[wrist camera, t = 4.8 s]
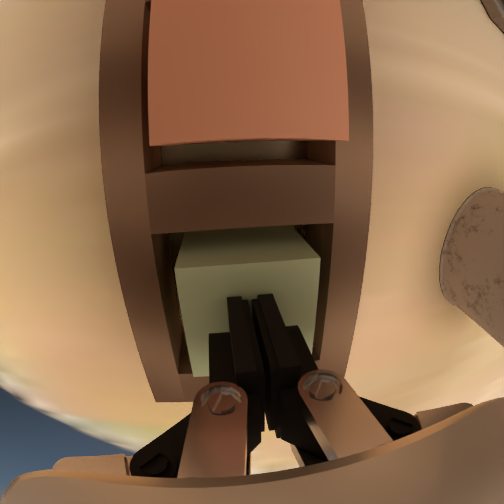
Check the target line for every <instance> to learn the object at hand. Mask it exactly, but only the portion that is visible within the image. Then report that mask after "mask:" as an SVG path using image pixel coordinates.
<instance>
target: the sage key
mask: <svg viewBox="0 0 504 504" xmlns="http://www.w3.org/2000/svg"><path fill="white" fill-rule="evenodd" d="M320 260H321V258H320V257H319V255H318V254H317V253H316V252H315V251H314V250H313V249H312V248H311V247H310V245H309V244H308V243H307V242H306V241H305V240H304V239H303V238H302V237H301V236H300V234H299V233H298V232H297V231H296V230H295V229H294V228H293V227H292V226H291V225H282V226H264V227H247V228H231V229H216V230H202V231H188V232H185V234H184V237H183V241H182V244H181V247H180V251H179V254H178V257H177V261H176V264H175V268H174V270H175V277H176V284H177V290H178V297H179V303H180V309H181V315H182V321H183V326H184V332H185V337H186V343H187V348H188V353H189V358H190V363H191V368H192V372H193V377H203V376H209V333H222V332H229V320H228V307H227V297H236V296H242V300H247V299H248V303H249V307H250V311H251V315H252V299H257V295H260V294H271V293H272V294H273V296H274V298H275V301H276V303H277V306H278V308H279V311H280V313H281V316H282V318H283V321H284V323H285V326H293V325H298V326H299V328H300V330H301V332H302V335H303V337H304V339H305V341H306V343H307V345H308V348H309V350H310V352H311V354H312V348H313V339H314V330H315V320H316V310H317V299H318V287H319V274H320Z"/></svg>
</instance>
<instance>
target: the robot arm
mask: <svg viewBox="0 0 504 504" xmlns="http://www.w3.org/2000/svg"><path fill="white" fill-rule="evenodd" d="M227 307H228V320H229V332H222V333H209V384H208V385H206V386H204V387H202V388H201V389H200V390H199V391H198V392H197V394H196V396H195V398H194V402H193V407H192V411H191V413H190V414H189V415H188V416H186V417H185V418H184V419H182V420H181V421H180V422H178V423H177V424H175V425H174V426H173V427H171V428H170V429H169V430H167V431H166V432H164V433H163V434H162V435H160V436H159V437H157V438H156V439H155V440H153V441H152V442H150V443H149V444H147V445H146V446H144V447H143V448H142V449H140V450H139V451H138V452H137V453H135V454H134V455H133V456H128V457H125V455H124V454H117V455H105V456H90V457H89V456H88V457H66V458H62V459H60V460H59V461H57V462H56V464H55V465H54V466H53V469H52V470H42V471H35V472H30V473H26V474H23V475H20V476H18V477H17V478H15V479H14V480H13V481H12V482H11V483H10V484H9V486H8V487H7V489H6V490H5V492H4V494H3V496H2V499H1V501H0V504H504V397H502V398H496V399H492V400H489V401H486V402H482V403H480V404H477V405H475V406H473V405H472V404H469V403H459V404H455V405H450V406H446V407H441V408H436V409H431V410H425V411H420V412H416V414H415V415H411V414H409V413H407V412H404V411H401V410H398V409H395V408H392V407H388V406H385V405H382V404H379V403H376V402H373V401H370V400H368V399H365V398H362V397H359V396H358V395H357V394H356V392H355V391H354V390H353V389H352V387H351V386H350V385H349V383H348V382H347V381H346V380H345V379H344V378H343V377H342V376H341V375H340V374H338V373H336V372H334V371H330V370H322V369H318V367H317V365H316V363H315V361H314V359H313V356H312V354H311V352H310V350H309V348H308V345H307V343H306V341H305V339H304V337H303V335H302V332H301V330H300V328H299V326H298V325H293V326H285V323H284V321H283V318H282V316H281V313H280V311H279V308H278V306H277V303H276V301H275V298H274V296H273V294H272V293H271V294H260V295H257V299H252V315H251V311H250V307H249V303H248V299H247V300H242V296H236V297H227ZM265 415H266V419H267V424H268V428H269V431H271V430H275V433H276V437H277V438H281V439H282V440H284V441H286V442H288V443H290V444H291V449H292V452H293V454H294V456H295V458H296V460H297V462H298V464H299V466H300V467H299V468H294V469H288V470H282V471H276V472H269V473H262V474H253V475H251V452H252V451H253V450H254V449H255V447H256V446H257V445H258V444H259V443H260V442H261V432H263V431H264V428H265Z"/></svg>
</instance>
